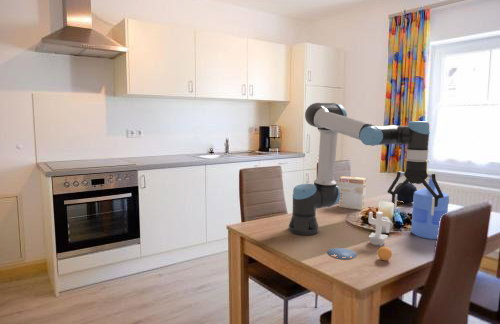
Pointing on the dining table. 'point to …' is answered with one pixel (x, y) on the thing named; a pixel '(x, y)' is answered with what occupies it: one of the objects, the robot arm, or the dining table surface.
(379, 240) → the figurine
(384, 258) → the ball
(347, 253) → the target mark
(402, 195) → the decorative orb
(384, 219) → the die
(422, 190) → the water jug
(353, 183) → the coffeecake box
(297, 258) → the dining table surface
